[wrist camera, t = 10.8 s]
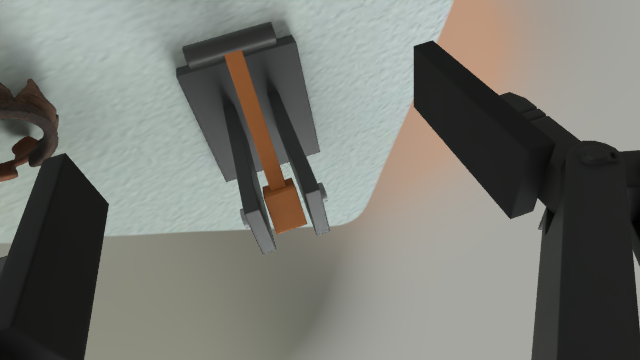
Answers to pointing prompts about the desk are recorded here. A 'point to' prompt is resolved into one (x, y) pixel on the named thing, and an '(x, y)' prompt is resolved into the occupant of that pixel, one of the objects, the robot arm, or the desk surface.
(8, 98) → the brown jagged hollow piece
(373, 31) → the desk surface
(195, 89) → the switch base
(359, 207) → the desk surface
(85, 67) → the desk surface
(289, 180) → the switch
